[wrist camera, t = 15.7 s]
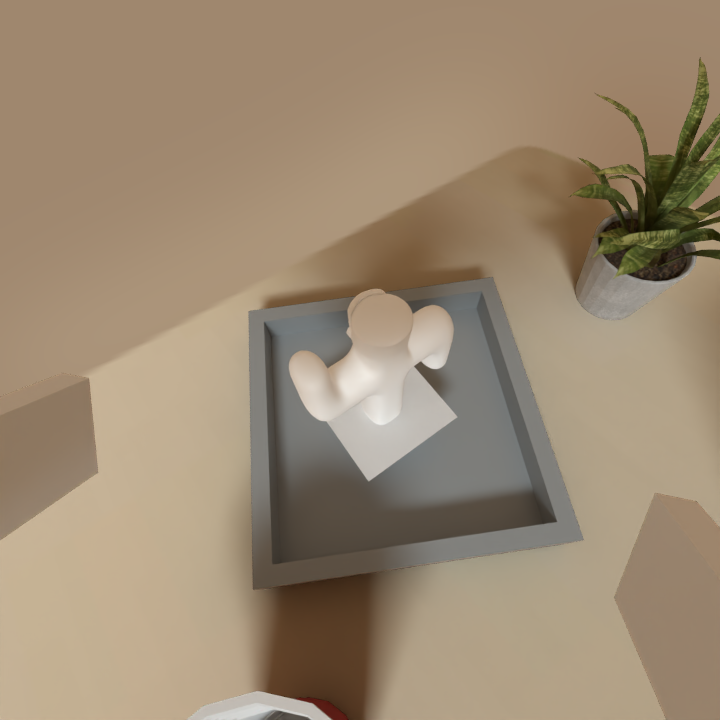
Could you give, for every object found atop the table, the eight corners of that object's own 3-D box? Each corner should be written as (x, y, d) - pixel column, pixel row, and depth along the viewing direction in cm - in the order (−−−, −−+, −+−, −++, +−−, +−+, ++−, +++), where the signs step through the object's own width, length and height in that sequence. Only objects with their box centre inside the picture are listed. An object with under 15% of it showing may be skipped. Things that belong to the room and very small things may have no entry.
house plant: (509, 221, 42) (576, 29, 27) (660, 224, 41) (813, 25, 26) (524, 350, 35) (622, 189, 21) (703, 358, 34) (939, 193, 20)
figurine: (461, 425, 32) (516, 313, 19) (357, 501, 30) (335, 437, 17) (401, 356, 35) (413, 216, 22) (303, 421, 33) (247, 311, 19)
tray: (485, 298, 38) (492, 277, 35) (565, 544, 29) (583, 540, 26) (258, 330, 37) (248, 311, 35) (265, 588, 28) (253, 589, 26)
